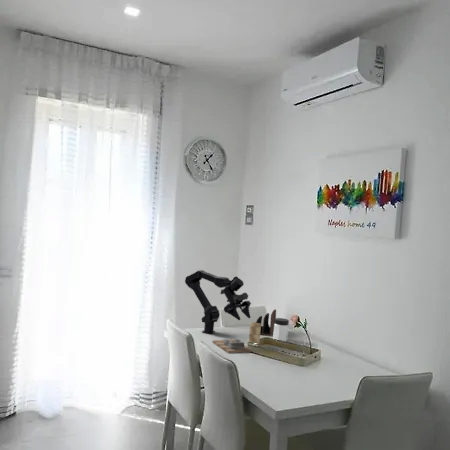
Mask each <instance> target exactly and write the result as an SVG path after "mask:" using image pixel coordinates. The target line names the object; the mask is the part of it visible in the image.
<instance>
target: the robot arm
mask: <svg viewBox="0 0 450 450" xmlns="http://www.w3.org/2000/svg"><path fill="white" fill-rule="evenodd" d="M202 279H203V280H206V281H208V282H211V283H213V284H214V285H215V286H216V287H217V288H220V289H221V290H220V295H224V296H225V299H227V300H226V302H227V304H226V305H225V306H224V307H223V311H224V312H225V313H226V314H229V315H230V316H231V317H233V318H235V319H237V320H238V321H240V320H241V316H240V315H239V312H238V311H237V309H240V311H241V312H242V313H243V314H244V316H246V317H247V319H251V314H250V313H251V312H250V306H251V304H252V303H251V302H250V300H248V299H249V295H248V293H247V292H243V293H242V294H236V292H238V291H239V290H240V289H241V288H242V287H243V286H244V281H243V280H242V279H241V278H239V277H238V276H234V277H233V278H232V279H231V280H230V279H229V277H226V276H218V275H215V274H213V273H210V272H207V271H204V270H202V269H200V270H197V271H196V272H193V273H191V274H189V275H187V276H185V280H184V282H185V284H186V286H187V287H188V288H190V289H191V290H192V291H193V292H194V294H195V296H196V298H197V299H198V302H199V303H200V305H201V306H202V308H203V314H204V316H202V318H201V322H202V323H204V327H203V330H202V331H201V332H202V333H204V334H211V335H213V334H214V333H215V332H216V330H214V329H215V323H217V322H218V321H219V318H220V315H221V314H220V310H219V309H218V307H217V305H212V304H211V302H210V300H209V299H208V297H207V296H206V294H205V292H204V291H203V289H202V287H201V280H202ZM222 288H223V289H222Z"/></svg>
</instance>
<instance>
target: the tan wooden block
mask: <svg viewBox="0 0 450 450" xmlns="http://www.w3.org/2000/svg"><path fill="white" fill-rule="evenodd" d="M261 326H262V323H261V324H260V323H256V321H255V322H254V321H252V322H250V325H249V337H248V343H249V342H255V343H258V344H259V345H260V341H261V340H260V339H261V335H260V330H261Z"/></svg>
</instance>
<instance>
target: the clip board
mask: <svg viewBox="0 0 450 450" xmlns="http://www.w3.org/2000/svg"><path fill="white" fill-rule="evenodd" d="M211 341H212V343H213V345H216V347H219V348H220V349H221V350H223V351H224V352H225V353H227V354H236V353H238V354H240V353H252V352H253V349H252V348H250V347H248V346H247V345H245V342H244V341H243V340H240V339H239V338H237V337H235V338H234V339H228V338H224V339H217V340H216V339H215V340H214V339H212V340H211ZM249 348H250V349H249Z"/></svg>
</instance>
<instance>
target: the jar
mask: <svg viewBox="0 0 450 450" xmlns="http://www.w3.org/2000/svg"><path fill="white" fill-rule="evenodd" d="M289 323H290V320H289V319H287V318H282V317H276V319H275V324H274V332H273V333H272V334H273V335H272V340H274V339H277V340H282V341H281V342H287V341H288V337H289V327H290V324H289ZM277 340H276V341H277Z"/></svg>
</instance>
